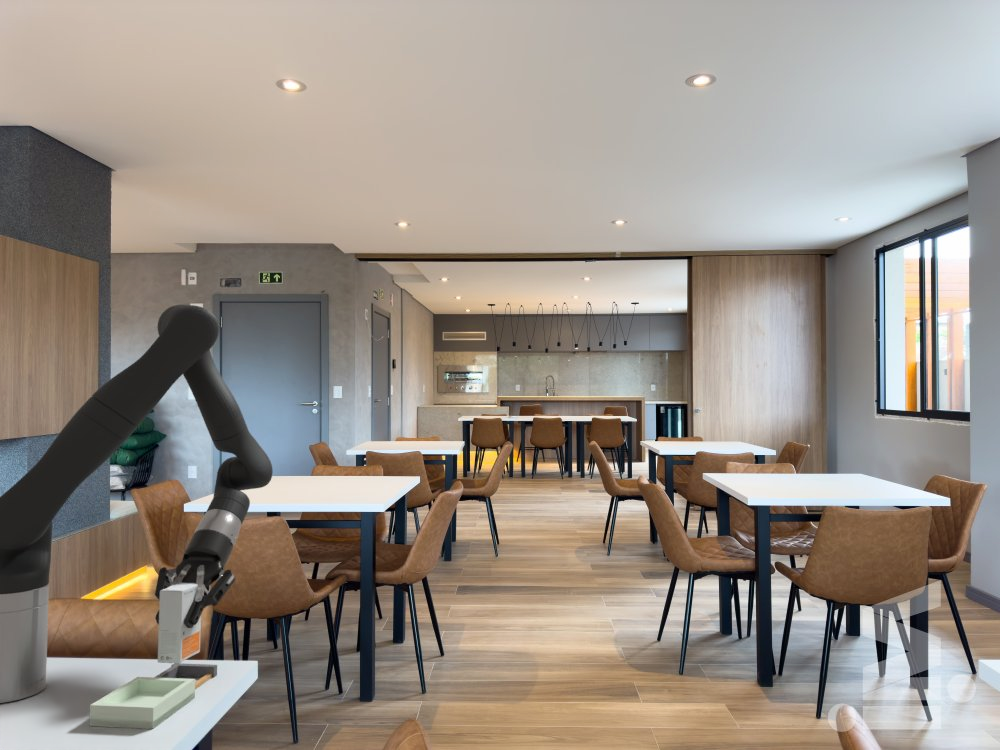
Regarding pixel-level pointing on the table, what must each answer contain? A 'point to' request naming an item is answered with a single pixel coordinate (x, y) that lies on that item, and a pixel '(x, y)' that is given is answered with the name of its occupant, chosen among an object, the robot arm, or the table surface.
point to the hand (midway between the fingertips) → (174, 624)
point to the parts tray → (142, 702)
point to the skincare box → (177, 624)
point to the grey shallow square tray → (190, 672)
